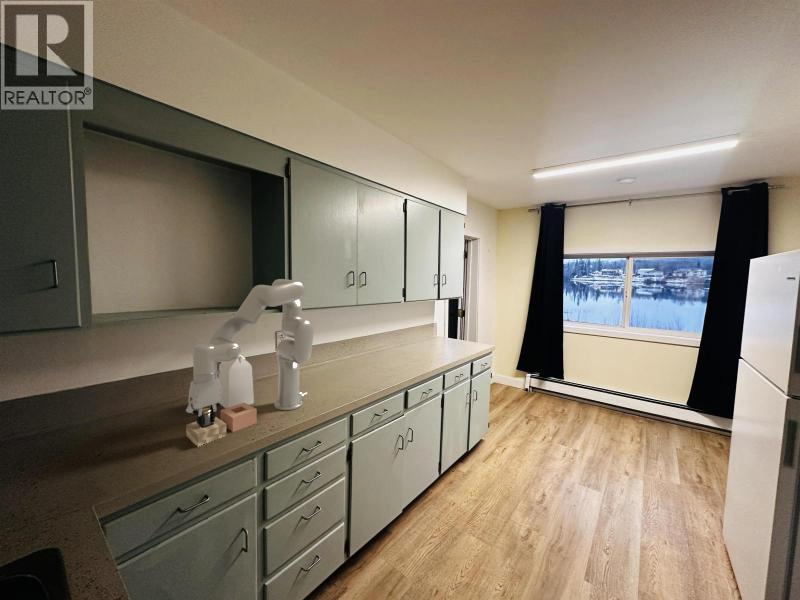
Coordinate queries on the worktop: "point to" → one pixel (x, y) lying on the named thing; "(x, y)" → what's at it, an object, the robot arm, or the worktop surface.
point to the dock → (239, 416)
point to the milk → (236, 382)
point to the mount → (206, 432)
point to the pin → (206, 417)
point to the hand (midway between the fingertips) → (206, 422)
